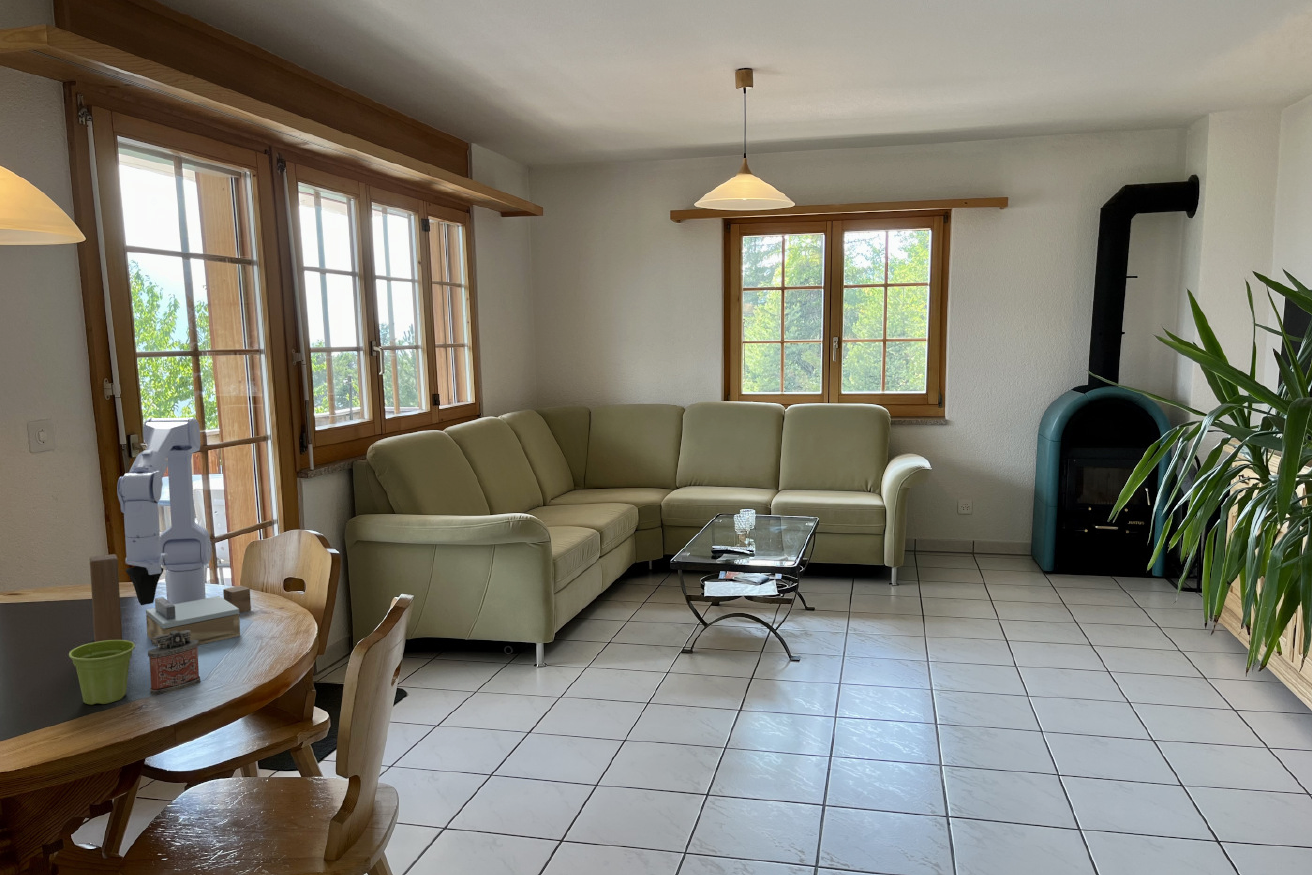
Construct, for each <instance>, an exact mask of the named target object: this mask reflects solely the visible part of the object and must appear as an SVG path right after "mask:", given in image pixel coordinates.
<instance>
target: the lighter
mask: <svg viewBox="0 0 1312 875" xmlns="http://www.w3.org/2000/svg"><path fill="white" fill-rule="evenodd" d="M190 637H191V631H190V630H185V631H181V632H178V631H175V630H174V631H171V632H170V634H168V635H167V634H164V635H160V636H156V637H153V638H152V640H151V644H152V646H156V647H154V648H152V649H149V650H148V651H147V657H148V659H149V674H150V675H149V676H150V687H149V694H150V695H151V696H161V695H166V694H170V693H173V692H177V691H178V692H179V691H181V690H185V689H188V688H190V687H193V686H197V685H198V684H200V683H201V676H200V675H199V674H200V671H199V651H198V647H199V645H198V640H190ZM183 638H184V640H185V641H183ZM167 642H168V643H167ZM165 643H167V645H166V644H165ZM159 644H160V647H158V646H157V645H159Z"/></svg>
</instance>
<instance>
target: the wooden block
mask: <svg viewBox="0 0 1312 875" xmlns="http://www.w3.org/2000/svg"><path fill="white" fill-rule="evenodd" d="M89 572H90V587H91V602H92V623H93V636H94V642H99V641H106V640H123V629H122V626H123V625H122V611H121V610H122V609H121V593H120V580H119V579H120V578H119V577H120V576H119V561H118V556H117V554H115V553H113V554H104V555H103V554H102V555H95V556H90V557H89Z"/></svg>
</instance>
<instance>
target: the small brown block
mask: <svg viewBox="0 0 1312 875" xmlns="http://www.w3.org/2000/svg"><path fill="white" fill-rule="evenodd" d="M222 590H223V593H222V595H223V599H225V600H226V601H228V602H229V603H231V604H232V605H234V606H235V607H237V608H239V614H240V613H244V612H249V611H251V610H252V604H251V601H252V600H251V589H250V587H247V586H244V585H241V584H240V585H236V586H232V587H228V588H224V589H222Z"/></svg>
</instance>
